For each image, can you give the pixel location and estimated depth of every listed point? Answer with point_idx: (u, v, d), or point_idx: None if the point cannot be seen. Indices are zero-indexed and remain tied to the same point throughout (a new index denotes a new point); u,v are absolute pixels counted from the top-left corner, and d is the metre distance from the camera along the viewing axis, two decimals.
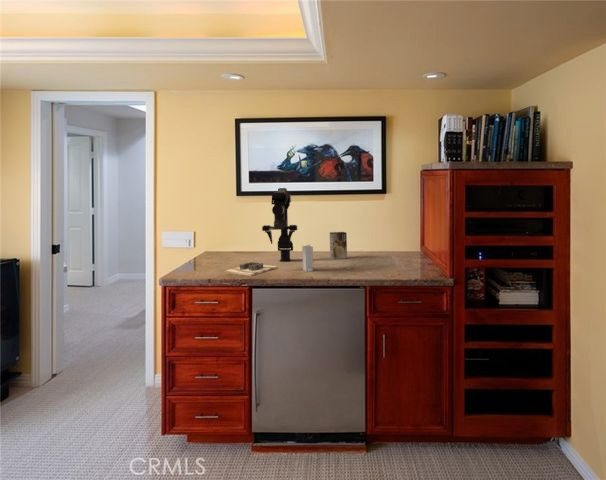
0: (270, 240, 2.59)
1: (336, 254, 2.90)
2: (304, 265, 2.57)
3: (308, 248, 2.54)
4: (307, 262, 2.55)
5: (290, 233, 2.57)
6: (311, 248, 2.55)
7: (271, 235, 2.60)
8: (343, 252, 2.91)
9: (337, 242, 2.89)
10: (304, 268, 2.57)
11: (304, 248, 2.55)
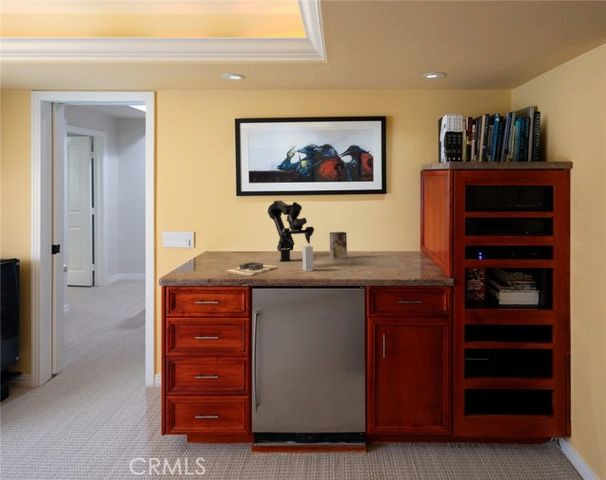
0: (292, 240, 2.62)
1: (336, 254, 2.90)
2: (304, 265, 2.57)
3: (308, 248, 2.54)
4: (307, 262, 2.55)
5: (309, 233, 2.67)
6: (311, 248, 2.55)
7: None
8: (343, 252, 2.91)
9: (337, 242, 2.89)
10: (304, 268, 2.57)
11: (304, 248, 2.55)
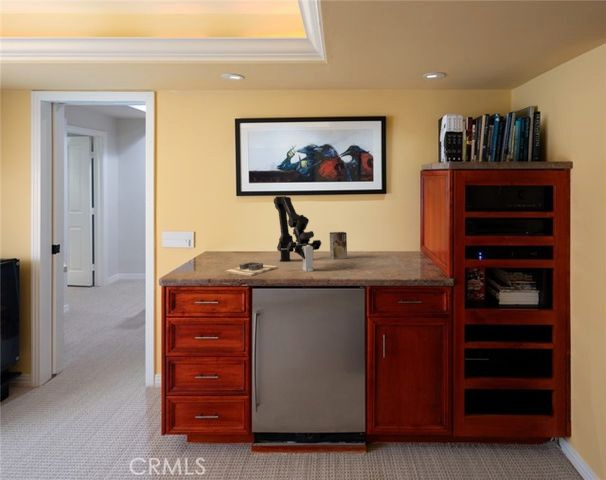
0: (303, 254, 2.55)
1: (336, 254, 2.90)
2: (304, 265, 2.57)
3: (308, 248, 2.54)
4: (307, 262, 2.55)
5: None
6: (311, 248, 2.55)
7: None
8: (343, 252, 2.91)
9: (337, 242, 2.89)
10: (304, 268, 2.57)
11: (304, 248, 2.55)
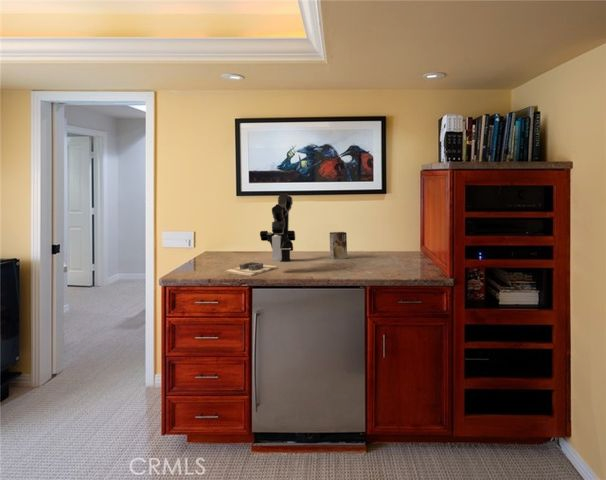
0: (271, 244, 2.53)
1: (336, 254, 2.90)
2: None
3: (275, 238, 2.51)
4: (274, 252, 2.52)
5: (283, 237, 2.54)
6: (278, 238, 2.51)
7: None
8: (343, 252, 2.91)
9: (337, 242, 2.89)
10: None
11: (272, 238, 2.53)
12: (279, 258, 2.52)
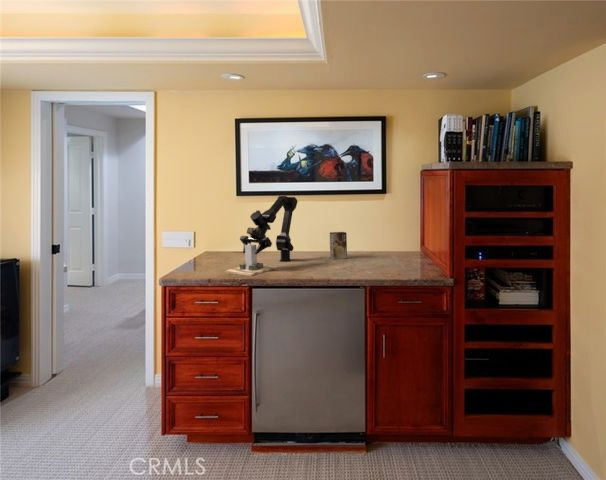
0: (243, 249, 2.61)
1: (336, 254, 2.90)
2: None
3: (247, 246, 2.57)
4: (247, 260, 2.59)
5: (260, 243, 2.57)
6: (249, 247, 2.56)
7: None
8: (343, 252, 2.91)
9: (337, 242, 2.89)
10: None
11: None
12: None
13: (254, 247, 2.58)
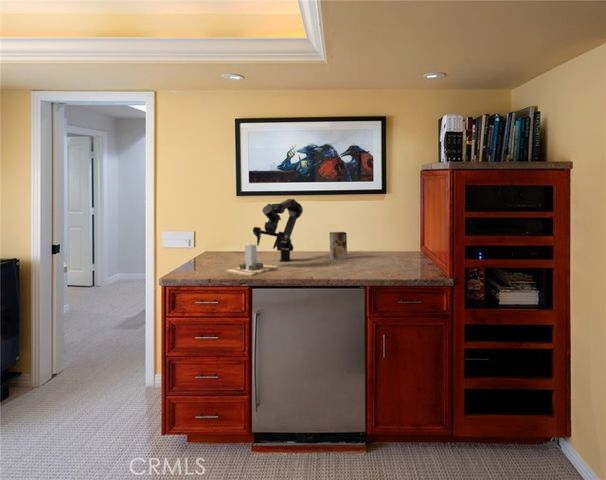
0: (257, 241, 2.67)
1: (336, 254, 2.90)
2: None
3: (247, 246, 2.57)
4: (247, 260, 2.59)
5: (277, 238, 2.66)
6: (249, 247, 2.56)
7: (259, 239, 2.70)
8: (343, 252, 2.91)
9: (337, 242, 2.89)
10: None
11: None
12: None
13: (254, 247, 2.58)
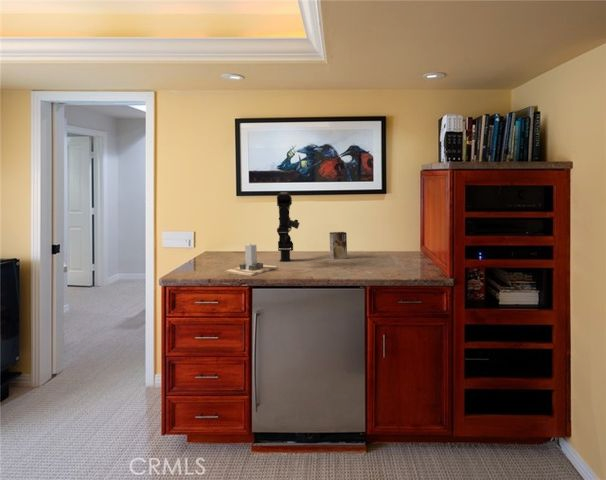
0: (285, 240, 2.66)
1: (336, 254, 2.90)
2: None
3: (247, 246, 2.57)
4: (247, 260, 2.59)
5: (289, 231, 2.76)
6: (249, 247, 2.56)
7: None
8: (343, 252, 2.91)
9: (337, 242, 2.89)
10: None
11: None
12: None
13: (254, 247, 2.58)
